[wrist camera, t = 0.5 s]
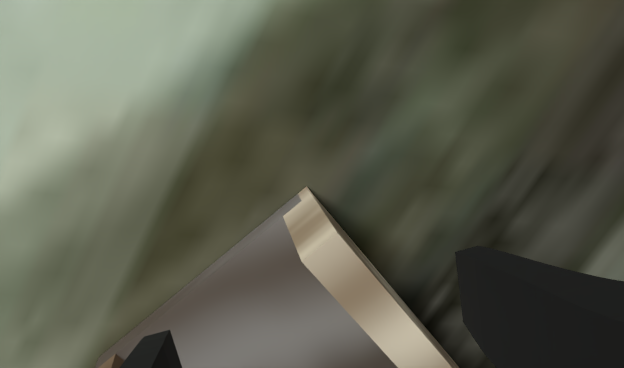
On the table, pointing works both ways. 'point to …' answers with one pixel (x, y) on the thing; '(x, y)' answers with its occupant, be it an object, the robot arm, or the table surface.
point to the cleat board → (290, 305)
